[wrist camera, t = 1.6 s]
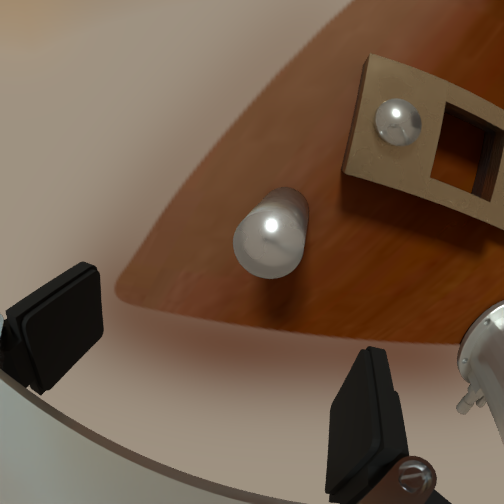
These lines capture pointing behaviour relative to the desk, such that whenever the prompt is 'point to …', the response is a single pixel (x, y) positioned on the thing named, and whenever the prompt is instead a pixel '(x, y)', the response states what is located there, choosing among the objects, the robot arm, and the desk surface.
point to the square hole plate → (422, 137)
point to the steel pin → (273, 234)
